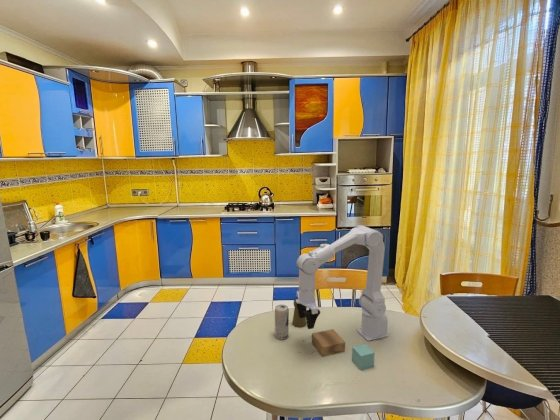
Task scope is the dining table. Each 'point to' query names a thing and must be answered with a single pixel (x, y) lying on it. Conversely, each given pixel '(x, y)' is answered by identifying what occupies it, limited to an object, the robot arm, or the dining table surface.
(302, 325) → the cork
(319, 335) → the walnut block
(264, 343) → the dining table surface
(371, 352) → the teal cube
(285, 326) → the energy drink
